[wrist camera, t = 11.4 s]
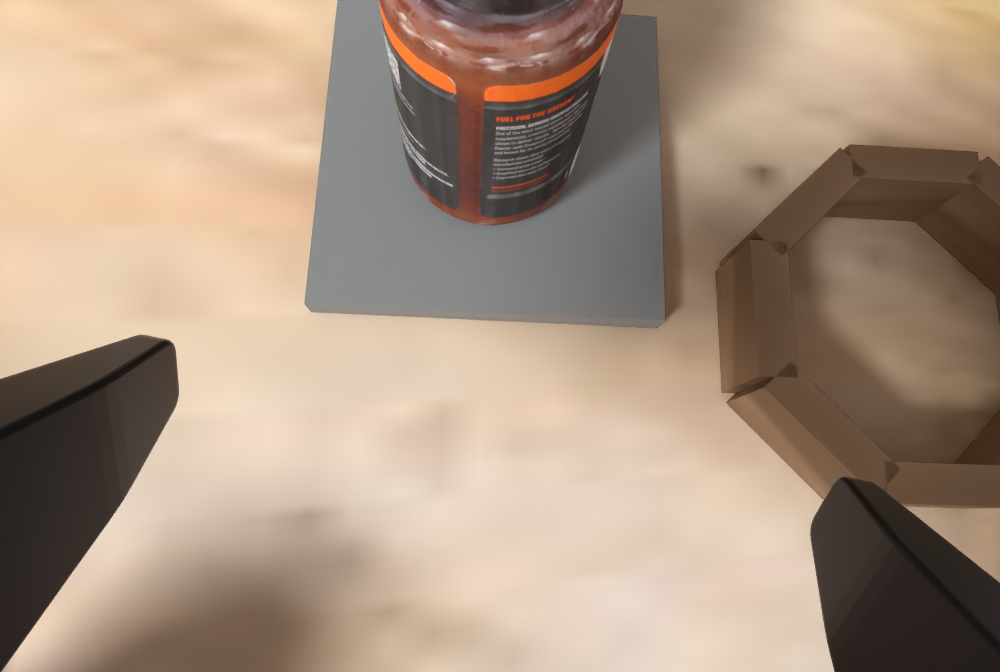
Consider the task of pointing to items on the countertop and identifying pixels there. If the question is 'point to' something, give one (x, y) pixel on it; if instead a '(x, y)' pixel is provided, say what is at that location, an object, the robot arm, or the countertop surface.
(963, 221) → the collar ring
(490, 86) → the supplement bottle
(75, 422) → the robot arm
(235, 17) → the countertop surface
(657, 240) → the pad
